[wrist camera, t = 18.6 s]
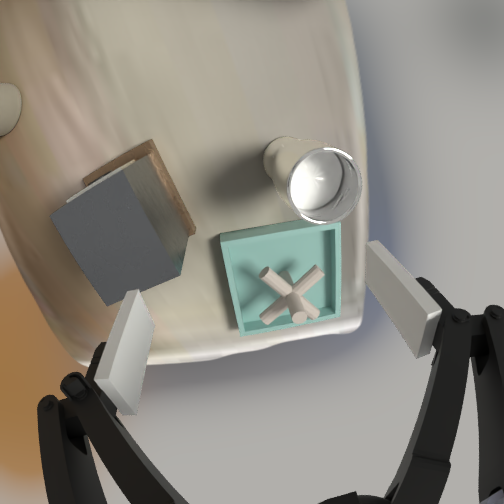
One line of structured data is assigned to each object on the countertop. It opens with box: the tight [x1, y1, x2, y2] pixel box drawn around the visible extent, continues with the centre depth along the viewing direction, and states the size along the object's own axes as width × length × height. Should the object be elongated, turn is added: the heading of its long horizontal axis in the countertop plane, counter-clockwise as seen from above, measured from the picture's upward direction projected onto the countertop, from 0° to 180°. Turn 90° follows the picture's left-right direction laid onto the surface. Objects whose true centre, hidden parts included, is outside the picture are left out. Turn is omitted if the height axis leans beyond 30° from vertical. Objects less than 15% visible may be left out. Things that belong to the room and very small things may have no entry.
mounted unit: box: [50, 139, 196, 306], centre depth 31 cm, size 13×10×13 cm
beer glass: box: [263, 137, 362, 225], centre depth 30 cm, size 7×7×15 cm
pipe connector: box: [259, 264, 325, 325], centre depth 39 cm, size 10×10×10 cm
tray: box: [220, 219, 341, 337], centre depth 43 cm, size 16×16×3 cm
